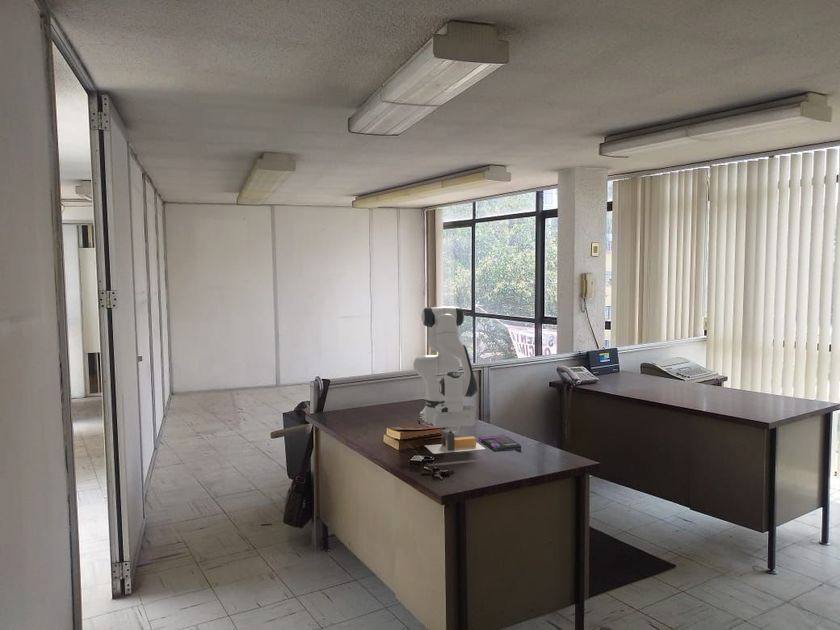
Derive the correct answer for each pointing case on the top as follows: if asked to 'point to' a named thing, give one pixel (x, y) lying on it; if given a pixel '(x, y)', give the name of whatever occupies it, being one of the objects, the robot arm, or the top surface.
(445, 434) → the dark grey block
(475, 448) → the base plate
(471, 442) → the orange foam brick
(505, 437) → the box
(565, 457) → the top surface
